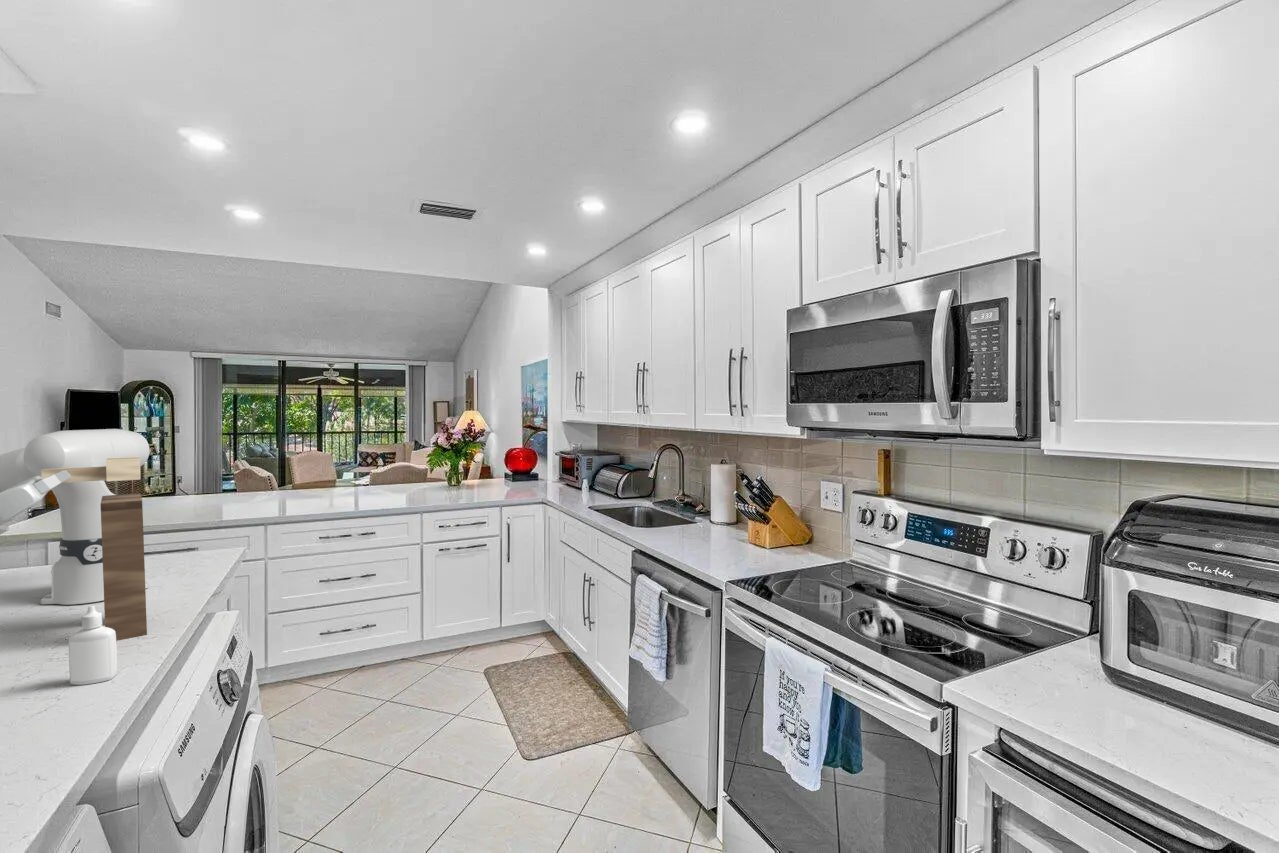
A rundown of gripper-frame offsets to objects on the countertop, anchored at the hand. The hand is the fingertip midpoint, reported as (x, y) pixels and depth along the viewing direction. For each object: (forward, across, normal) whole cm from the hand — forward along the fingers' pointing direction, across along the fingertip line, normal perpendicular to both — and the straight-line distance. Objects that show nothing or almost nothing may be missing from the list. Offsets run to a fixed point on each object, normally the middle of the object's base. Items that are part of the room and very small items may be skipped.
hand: (70, 472), depth 115 cm
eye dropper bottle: (-13, +27, -29) cm, 42 cm away
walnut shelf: (-10, 0, -31) cm, 33 cm away
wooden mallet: (+2, 0, -3) cm, 4 cm away
